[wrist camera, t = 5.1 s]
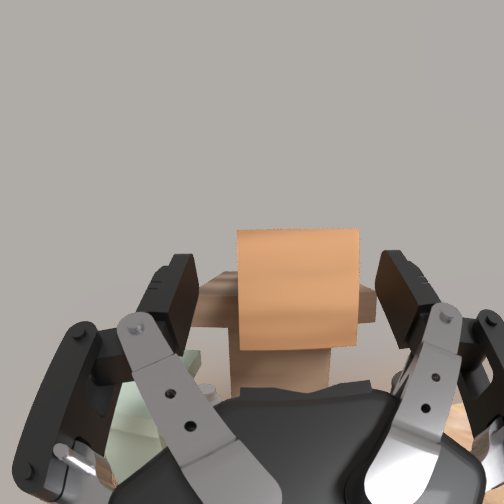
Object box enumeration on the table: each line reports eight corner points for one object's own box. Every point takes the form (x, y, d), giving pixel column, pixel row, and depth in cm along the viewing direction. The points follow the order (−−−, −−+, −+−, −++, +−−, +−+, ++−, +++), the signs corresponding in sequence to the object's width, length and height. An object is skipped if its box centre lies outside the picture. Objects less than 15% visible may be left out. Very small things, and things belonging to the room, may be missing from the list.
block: (260, 271, 32) (260, 240, 32) (291, 271, 32) (291, 240, 32) (239, 350, 8) (237, 230, 8) (355, 345, 8) (358, 228, 8)
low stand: (144, 458, 35) (117, 343, 34) (213, 469, 34) (200, 350, 34) (106, 519, 19) (45, 390, 18) (193, 543, 18) (155, 420, 18)
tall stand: (235, 471, 34) (224, 271, 33) (312, 469, 33) (326, 269, 33) (222, 547, 18) (186, 295, 17) (324, 545, 17) (376, 291, 17)
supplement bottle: (223, 440, 43) (219, 396, 42) (193, 439, 42) (186, 395, 42) (223, 423, 48) (220, 381, 48) (196, 423, 48) (190, 381, 48)
